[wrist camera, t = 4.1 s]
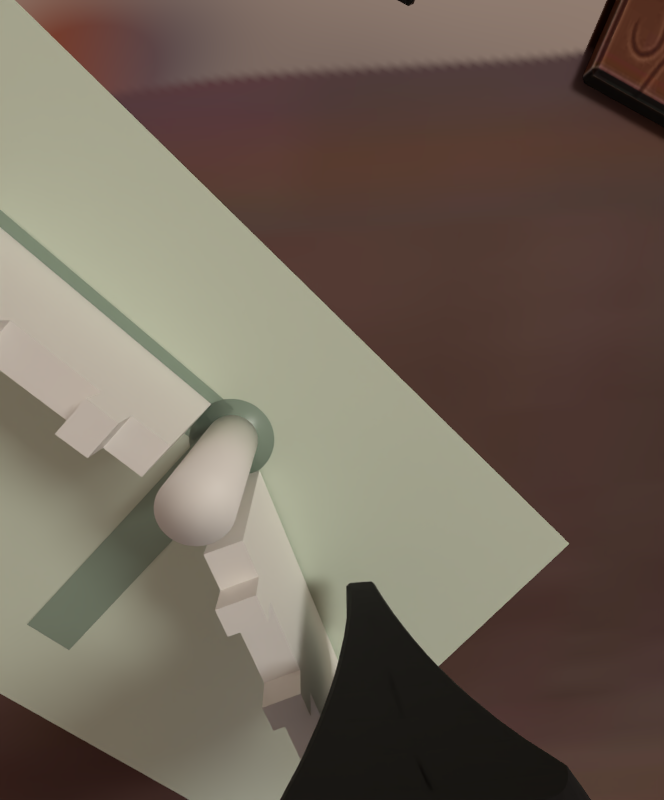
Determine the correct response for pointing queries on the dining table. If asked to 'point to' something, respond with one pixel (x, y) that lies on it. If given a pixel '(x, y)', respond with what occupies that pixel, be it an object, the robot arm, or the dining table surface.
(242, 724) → the card
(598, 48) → the decorative fence
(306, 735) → the folding fence panel
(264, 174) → the dining table surface
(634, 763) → the dining table surface
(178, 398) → the fence post and fixed panel
